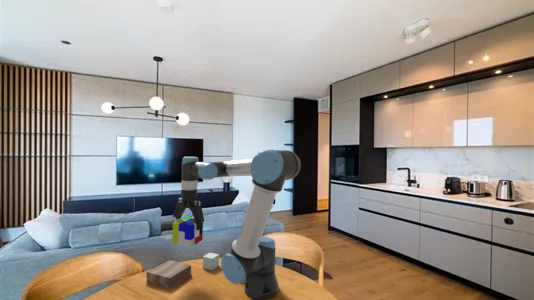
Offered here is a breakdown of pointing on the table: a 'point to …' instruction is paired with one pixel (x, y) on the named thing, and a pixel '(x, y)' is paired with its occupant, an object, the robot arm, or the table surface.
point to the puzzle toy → (186, 232)
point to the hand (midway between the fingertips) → (187, 234)
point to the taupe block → (168, 274)
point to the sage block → (210, 261)
